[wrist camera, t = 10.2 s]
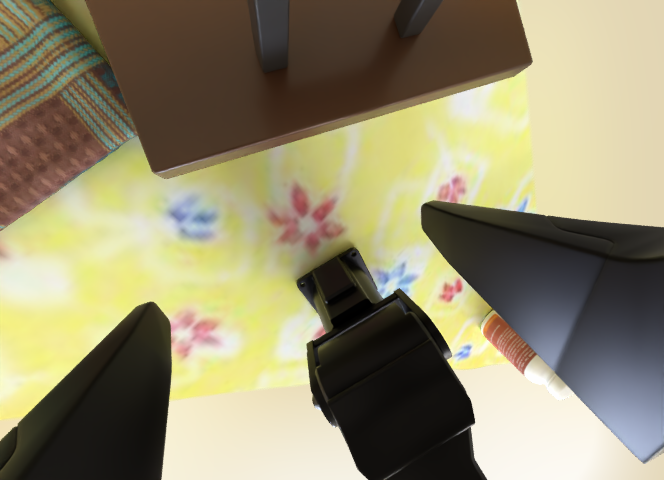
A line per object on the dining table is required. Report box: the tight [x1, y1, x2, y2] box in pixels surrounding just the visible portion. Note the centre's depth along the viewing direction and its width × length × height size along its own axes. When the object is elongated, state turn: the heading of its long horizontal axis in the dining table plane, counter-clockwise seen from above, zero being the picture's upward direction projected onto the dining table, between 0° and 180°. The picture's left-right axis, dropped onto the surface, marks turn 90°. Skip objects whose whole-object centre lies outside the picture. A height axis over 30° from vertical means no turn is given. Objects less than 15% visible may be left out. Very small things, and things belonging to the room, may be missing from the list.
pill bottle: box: [481, 310, 575, 400], centre depth 36 cm, size 6×6×11 cm
